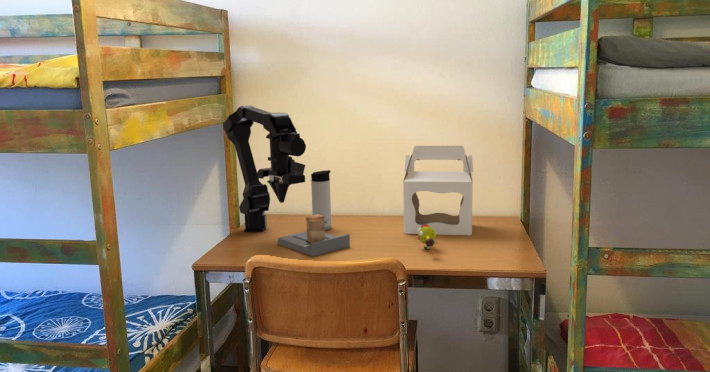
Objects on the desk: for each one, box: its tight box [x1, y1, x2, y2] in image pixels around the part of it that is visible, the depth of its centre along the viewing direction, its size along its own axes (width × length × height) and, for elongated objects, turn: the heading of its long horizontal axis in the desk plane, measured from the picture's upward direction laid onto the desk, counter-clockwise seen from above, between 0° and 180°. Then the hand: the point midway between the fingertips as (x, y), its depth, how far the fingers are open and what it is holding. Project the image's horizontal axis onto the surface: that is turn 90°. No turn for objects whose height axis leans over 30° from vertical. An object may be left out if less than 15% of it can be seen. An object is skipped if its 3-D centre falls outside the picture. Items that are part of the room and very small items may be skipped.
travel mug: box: [310, 169, 332, 231], centre depth 200 cm, size 6×7×20 cm
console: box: [277, 230, 351, 257], centre depth 182 cm, size 18×14×4 cm
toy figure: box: [416, 224, 437, 251], centre depth 176 cm, size 18×6×7 cm, turn 178°
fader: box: [305, 214, 326, 244], centre depth 176 cm, size 5×4×8 cm
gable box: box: [402, 145, 474, 236], centre depth 195 cm, size 22×13×28 cm, turn 79°
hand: (281, 202), depth 188 cm, fingers closed
